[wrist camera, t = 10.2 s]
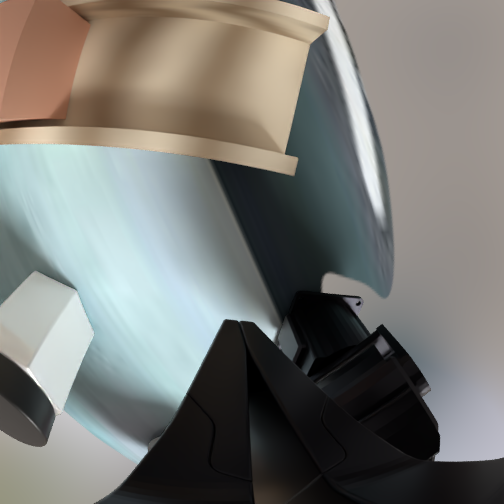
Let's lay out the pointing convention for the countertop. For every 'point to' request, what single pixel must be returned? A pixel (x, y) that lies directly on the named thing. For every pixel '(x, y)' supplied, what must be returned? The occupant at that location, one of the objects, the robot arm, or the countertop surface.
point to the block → (38, 58)
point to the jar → (39, 355)
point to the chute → (185, 79)
